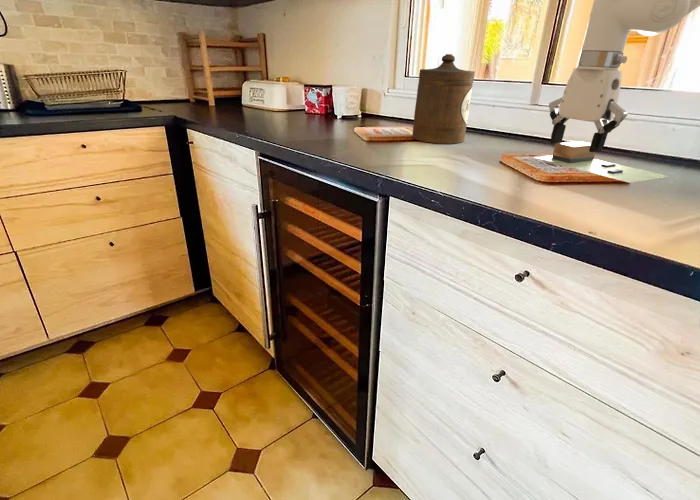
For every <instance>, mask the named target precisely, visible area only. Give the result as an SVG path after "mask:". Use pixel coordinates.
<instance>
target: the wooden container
mask: <svg viewBox="0 0 700 500" xmlns="http://www.w3.org/2000/svg"><path fill="white" fill-rule="evenodd" d="M455 61H456V58H455V56H454V55H453V53H452V54H451V53H450V54H449V53H446V54H445V55H443V56H442V57H441V64H439V66H437V67H435V68H420V69H419V72H418V73H419V74H418V84H417V90H416V91H417V92H416V100H415V108H414V115H413V125H412V126H413V127H412V134H411V135H412V138H413V139H414V140H416V141H419V142H423V143H428V144H429V143H430V144H439V145H440V144H442V145H451V144H461V143H463V142H465V138H466V132H467V127H468V120H469V113H470V105H471V100H472V99H471V98H472V91H473V85H474V84H473V83H474V80H475V74H476V72H475V71H473V70H465V69H460V68H458V67H457V66H456V65H455V64H454V63H455Z"/></svg>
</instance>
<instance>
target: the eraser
mask: <svg viewBox="0 0 700 500" xmlns="http://www.w3.org/2000/svg"><path fill="white" fill-rule="evenodd" d="M590 146H591V142H586V141H581V140H575V141H564V142H563V141H562V142H561V143H554V148H553V153H552V155H553V156H552V159H554V160H558V161H562V162H566V163H576V162H584V161H592V160H593V159H595V155H596V152H590V151H589V149H590Z"/></svg>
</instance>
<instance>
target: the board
mask: <svg viewBox="0 0 700 500" xmlns="http://www.w3.org/2000/svg"><path fill="white" fill-rule="evenodd" d="M552 156H553V154H552V155H551V154H550V155H542V156H533V157H532V158H533V159H537V160H541V161H543V162H544V161H545V162H548V163H551V164H555V165H560V166H563V167H567V168H571V169H575V170H578V171H582V172H585V173H589V174H594V175H597V176H601V177H604V178H609V179H613V180H616V181H620V182H625V183H627V184H633V183H639V182H645V181H652V180H657V179H663V178H668V177H670V176H669V175H667V174H661V173H657V172H653V171H650V170H649V171H648V170H644V169H640V168H637V167H636V168H635V167H633V166H632V167H631V166H627V165H622V164H618V163H614V162H609V161H605V160H601V159H598V158H594V159H593V160H592V161H584V162H576V163H566V162H562V161H558V160H554V159H552ZM608 163H612V164H616V165H615V166H612V167H603V166H601V165H602V164H608ZM615 169H619V170H623V172H622V173H615V174H612V173H608V170H615Z"/></svg>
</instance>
